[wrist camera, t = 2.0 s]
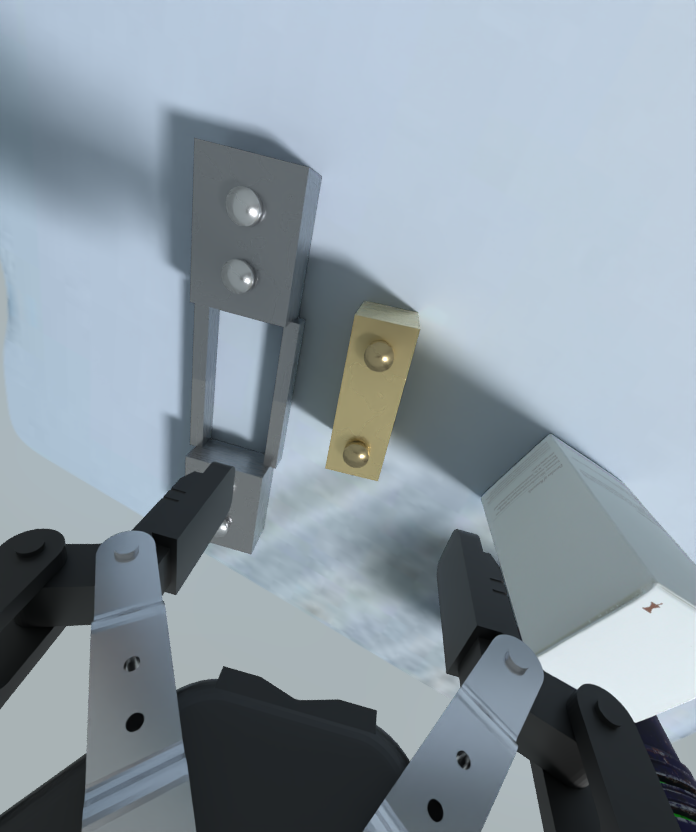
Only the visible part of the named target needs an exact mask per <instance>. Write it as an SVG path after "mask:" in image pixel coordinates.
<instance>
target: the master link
mask: <svg viewBox="0 0 696 832" xmlns="http://www.w3.org/2000/svg"><path fill="white" fill-rule="evenodd" d="M419 331H420V324H419V317H418V312H414V311H409V310H405V309H400V308H395V307H391V306H386V305H382V304H377V303H373V302H368V301H364V302H363V304H362V305H361V306H360V308H359V309H358V311H357V312H356V314H355V316H354V321H353V326H352V332H351V337H350V342H349V347H348V352H347V358H346V363H345V368H344V373H343V378H342V384H341V389H340V394H339V399H338V404H337V410H336V415H335V420H334V425H333V430H332V436H331V441H330V446H329V451H328V457H327V462H326V467H325V468H326V469H330V470H334V471H338V472H342V473H346V474H350V475H354V476H358V477H363V478H367V479H371V480H375V481H378V479H379V475H380V472H381V468H382V464H383V461H384V457H385V454H386V450H387V447H388V443H389V439H390V436H391V432H392V429H393V425H394V421H395V418H396V414H397V411H398V407H399V403H400V400H401V396H402V393H403V389H404V385H405V382H406V378H407V375H408V371H409V367H410V364H411V360H412V357H413V353H414V349H415V346H416V342H417V339H418V335H419Z"/></svg>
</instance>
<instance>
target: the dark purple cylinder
mask: <svg viewBox="0 0 696 832" xmlns="http://www.w3.org/2000/svg"><path fill="white" fill-rule="evenodd" d="M518 631H519V627H518ZM519 635H520V638H521V634H520V631H519ZM521 641H522V638H521ZM522 642H523V641H522ZM548 674H549V673H548ZM551 676H552V675H551ZM553 677H554V676H553ZM554 678H556V677H554ZM556 679H558V678H556ZM558 680H559V679H558ZM559 681H561V680H559ZM561 682H563V681H561ZM563 683H564V684H566V683H565V682H563ZM566 685H568V684H566ZM568 686H569V687H571V688H573V687H572V686H570V685H568ZM573 689H574V690H577V689H575V688H573ZM634 723H635V722H634ZM635 725H636V727H637V730H638V732H639V734H640V737H641V739H642V741H643V743H644V746H645V748H646V750H647V753H648V755H649V757H650V760H651V762H652V764H653V767H654V769H655V771H656V774H657V776H658V778H659V780H660V783H661V785H662V787H663V790H664V792H665V794H666V797H667V799H668V801H669V804H670V806H671V808H672V810H673V813H674V815H675V817H676V820H677V822H678V824H679V827H680V829H681V831H682V832H696V780H695V779H694V778H693V776H692V774H691V772H690V771H689V769H688V768H687V767H686V766H685V765H684V764H682V763H681V762H680V760H679V758H678V756H677V754H676V753H675V751H674V749H673V747H672V745H671V743H670V741H669V739H668V737H667V735H666V733H665V731H664V729H663V728H662V726H661V724H660V722H659V720H658V718H657V716H656V715H655V716H653V717H650V718H647V719H645V720H642V721H639V722H637V723H635Z"/></svg>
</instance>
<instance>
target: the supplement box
mask: <svg viewBox="0 0 696 832" xmlns="http://www.w3.org/2000/svg"><path fill="white" fill-rule="evenodd" d="M481 500H482V504H483V507H484V511H485V514H486V518H487V521H488V525H489V528H490V531H491V535H492V538H493V542H494V545H495V549H496V552H497V555H498V559H499V562H500V565H501V569H502V572H503V576H504V579H505V583H506V586H507V590H508V593H509V596H510V600H511V603H512V606H513V610H514V613H515V617H516V620H517V624H518V627H519V631H520V634H521V638H522V641H523V642H524V643H525V644H526V645H527V646H528V647H529V648H530V649H531V650H532V651H533V652H534V653H535V655H536V656H537V658H538V659H539V661H540V663H541V665H542V668H543V670H544V671H545V672H547V673H549V674H550V675H552V676H554V677H556V678H558V679H559V680H561V681H563V682H565V683H566V684H568V685H570V686H572V687H573V688H575V689H578V688H579V687H580V686H581V685H583V684H594V685H597V686H599V687H601V688H603V689H605V690H606V691H608V692H609V693H611V694H612V695H613V696H614V697H615V698H616V699H617V700H618V701H619V702H620V703H621V704H622V705H623V706H624V707H625V709H626V710H627V711H628V713H629V714H630V716H631V717H632V719H633V721H634V722H635V723H637V722H639V721H642V720H645V719H647V718H650V717H653V716H655V715H657V714H660V713H662V712H665V711H667V710H669V709H672V708H674V707H676V706H679V705H681V704H684V703H686V702H688V701H691V700H693V699H696V565H695V563H694V562H693V561H692V560H691V559H690V558H689V557H688V556H687V554H686V553H685V552H684V551H683V550H682V549H681V548H680V546H679V545H678V544H677V543H676V542H675V541H674V540H673V539H672V537H671V536H670V535H669V534H668V533H667V532H666V531H665V530H664V528H663V527H662V526H661V525H660V524H659V523H658V522H657V521H656V519H655V518H654V517H653V516H652V515H651V514H650V513H649V512H648V510H647V509H646V508H645V507H644V506H643V505H642V503H641V502H640V501H639V500H638V499H637V497H636V496H635V495H634V494H633V493H632V492H631V491H630V489H629V488H628V487H627V486H626V485H625V484H624V483H623V482H621V481H620V480H618V479H617V478H616V477H614V476H613V475H611V474H610V473H609V472H607V471H606V470H604V469H603V468H601V467H600V466H598V465H597V464H595V463H594V462H592V461H591V460H589V459H588V458H586V457H585V456H583V455H582V454H580V453H579V452H577V451H576V450H574V449H573V448H571V447H570V446H568V445H567V444H565V443H564V442H562V441H561V440H559V439H558V438H556V437H555V436H553V435H552V434H549V435H548V436H547V437H545V438H544V439H543V440H542V441H541V442H540V443H539V444H538V445H536V446H535V447H534V448H533V449H532V450H531V451H530V452H529V453H528V454H527V455H526V456H524V457H523V458H522V459H521V460H520V461H519V462H518V463H517V464H516V465H515V466H514V467H512V468H511V469H510V470H509V471H508V472H507V473H506V474H505V475H504V476H503V477H502V478H500V479H499V480H498V481H497V482H496V483H495V484H494V485H493V486H492V487H491V488H490V489H489V490H487V491H486V493H485V494H484V495H483V496H482V497H481Z"/></svg>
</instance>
